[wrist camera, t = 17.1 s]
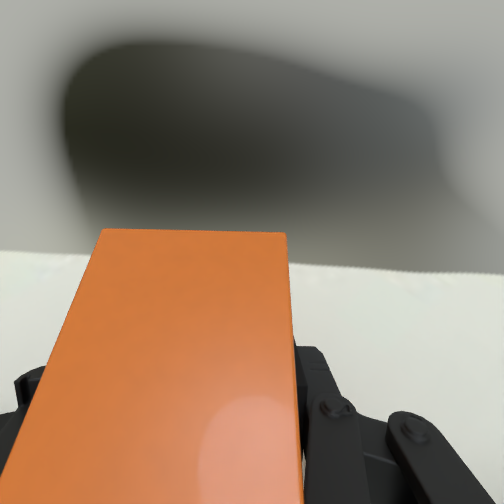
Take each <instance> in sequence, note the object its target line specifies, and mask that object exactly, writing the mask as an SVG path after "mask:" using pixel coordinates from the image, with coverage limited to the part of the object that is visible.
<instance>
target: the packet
mask: <svg viewBox="0 0 504 504" xmlns="http://www.w3.org/2000/svg"><path fill="white" fill-rule="evenodd" d="M0 504H304V491H303V476H302V461H301V446H300V431H299V416H298V401H297V386H296V371H295V356H294V341H293V326H292V311H291V296H290V281H289V266H288V251H287V236H286V234H285V233H283V232H244V231H242V232H241V231H199V230H197V231H196V230H154V229H110V228H108V229H107V228H105V229H103V230H102V231H101V234H100V236H99V239H98V241H97V243H96V246H95V248H94V251H93V253H92V255H91V258H90V260H89V263H88V265H87V268H86V270H85V272H84V275H83V277H82V280H81V282H80V285H79V287H78V289H77V292H76V294H75V297H74V299H73V302H72V304H71V306H70V309H69V311H68V314H67V316H66V319H65V321H64V323H63V326H62V328H61V331H60V333H59V336H58V338H57V340H56V343H55V345H54V348H53V350H52V353H51V355H50V357H49V360H48V362H47V365H46V367H45V370H44V372H43V374H42V377H41V379H40V382H39V384H38V387H37V389H36V391H35V394H34V396H33V399H32V401H31V404H30V406H29V408H28V411H27V413H26V416H25V418H24V421H23V423H22V425H21V428H20V430H19V433H18V435H17V438H16V440H15V443H14V445H13V447H12V450H11V452H10V455H9V457H8V460H7V462H6V464H5V467H4V469H3V472H2V474H1V477H0Z"/></svg>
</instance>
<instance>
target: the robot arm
mask: <svg viewBox="0 0 504 504" xmlns="http://www.w3.org/2000/svg"><path fill="white" fill-rule="evenodd" d="M293 341H294V356H295V371H296V386H297V401H298V416H299V431H300V446H301V461H302V459H303V450H304V455H305V460H306V467H305V480H304V504H496V503H495V502H494V501H493V499H492V498H491V497H490V496H489V494H488V493H487V492H486V490H485V489H484V488H483V486H482V485H481V484H480V483H479V481H478V480H477V479H476V477H475V476H474V475H473V474H472V472H471V471H470V470H469V468H468V467H467V466H466V464H465V463H464V462H463V461H462V459H461V458H460V457H459V455H458V454H457V453H456V452H455V450H454V449H453V448H452V446H451V445H450V444H449V442H448V441H447V440H446V439H445V437H444V436H443V435H442V433H441V432H440V431H439V430H438V429H437V428H436V427H435V426H434V425H433V424H432V423H430V422H429V421H427V420H426V419H424V418H423V417H421V416H418V415H416V414H413V413H410V412H404V411H399V412H394V413H392V414H391V415H390V416H389V419H388V423H386V422H383V421H379V420H376V419H372V418H369V417H366V416H363V415H361V414H359V413H357V412H356V409H355V407H354V406H353V405H352V403H351V402H350V401H349V400H347V399H346V398H344V397H342V396H341V394H340V391H339V389H338V387H337V385H336V382H335V380H334V378H333V376H332V373H331V371H330V369H329V367H328V364H327V363H326V360H325V358H324V355H323V353H321V352H320V351H319V350H318V349H317V348H316V347H312V346H296V343H295V339H294V336H293ZM45 367H46V366H41V367H39V368H36V369H33V370H31V371H29V372H27V373H25V374H23V375H21V376H20V377H19V378H18V379H17V380H15V381H14V385H15V390H16V396H17V401H18V408H17V410H16V411H15V412H10V413H5V414H0V477H1V474H2V472H3V469H4V467H5V464H6V462H7V460H8V457H9V455H10V452H11V450H12V447H13V445H14V443H15V440H16V438H17V435H18V433H19V430H20V428H21V425H22V423H23V421H24V418H25V416H26V413H27V411H28V408H29V406H30V404H31V401H32V399H33V396H34V394H35V391H36V389H37V387H38V384H39V382H40V379H41V377H42V374H43V372H44V370H45Z"/></svg>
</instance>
